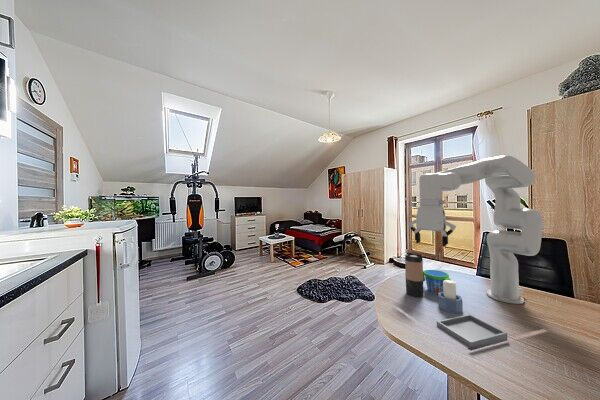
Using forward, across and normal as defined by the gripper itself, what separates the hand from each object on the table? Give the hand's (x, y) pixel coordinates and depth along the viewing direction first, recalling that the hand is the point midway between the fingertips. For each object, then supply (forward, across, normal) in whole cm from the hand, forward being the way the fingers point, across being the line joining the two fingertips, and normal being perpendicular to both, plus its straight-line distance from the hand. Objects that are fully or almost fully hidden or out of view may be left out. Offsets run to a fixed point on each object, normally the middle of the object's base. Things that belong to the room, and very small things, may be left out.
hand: (430, 244), depth 87 cm
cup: (+28, -5, -7) cm, 30 cm away
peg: (+28, -5, -7) cm, 29 cm away
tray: (+29, -14, +6) cm, 32 cm away
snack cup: (+29, +4, -22) cm, 36 cm away
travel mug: (+29, +10, -11) cm, 32 cm away
